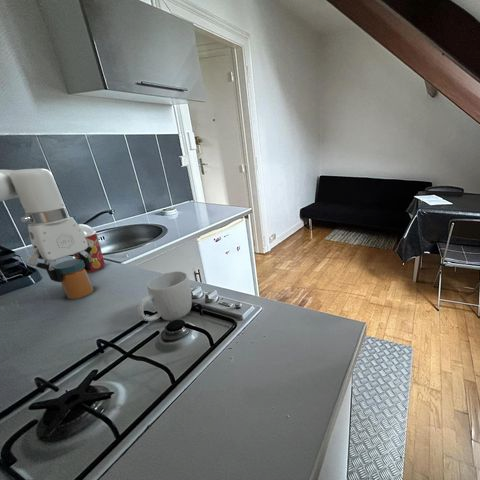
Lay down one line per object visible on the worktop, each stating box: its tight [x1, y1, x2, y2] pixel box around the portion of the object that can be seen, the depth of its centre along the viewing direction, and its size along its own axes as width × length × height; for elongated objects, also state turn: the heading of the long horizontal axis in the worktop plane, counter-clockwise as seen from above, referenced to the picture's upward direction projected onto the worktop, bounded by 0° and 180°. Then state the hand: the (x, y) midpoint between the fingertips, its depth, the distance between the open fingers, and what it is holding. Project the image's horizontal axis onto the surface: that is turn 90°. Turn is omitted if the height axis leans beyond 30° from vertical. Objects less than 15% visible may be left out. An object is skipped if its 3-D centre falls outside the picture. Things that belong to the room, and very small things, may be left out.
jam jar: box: [60, 267, 94, 300], centre depth 77 cm, size 6×6×10 cm
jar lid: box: [55, 258, 85, 275], centre depth 75 cm, size 7×7×2 cm
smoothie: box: [72, 216, 105, 273], centre depth 91 cm, size 8×8×20 cm
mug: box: [136, 271, 193, 322], centre depth 65 cm, size 13×9×10 cm
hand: (73, 274), depth 76 cm, fingers closed on jar lid, 6 cm apart
